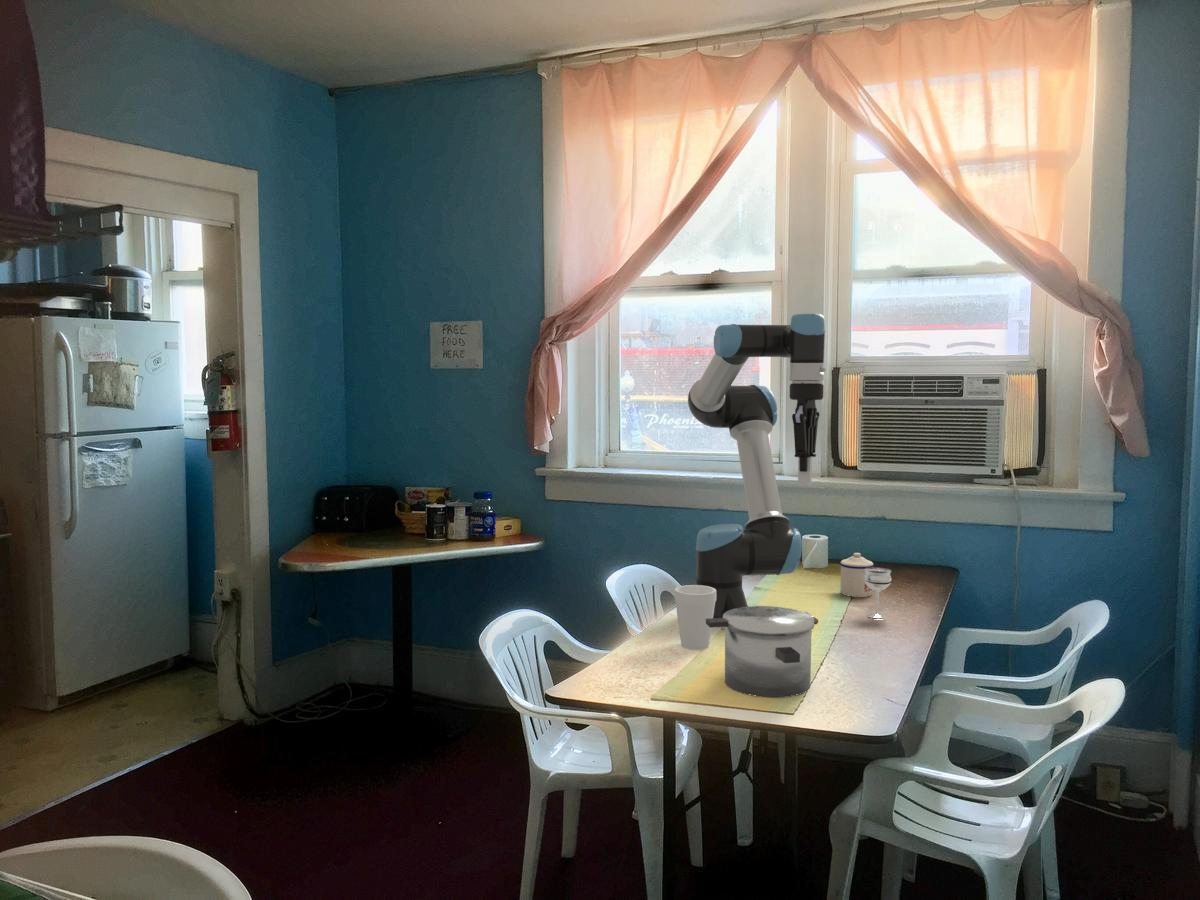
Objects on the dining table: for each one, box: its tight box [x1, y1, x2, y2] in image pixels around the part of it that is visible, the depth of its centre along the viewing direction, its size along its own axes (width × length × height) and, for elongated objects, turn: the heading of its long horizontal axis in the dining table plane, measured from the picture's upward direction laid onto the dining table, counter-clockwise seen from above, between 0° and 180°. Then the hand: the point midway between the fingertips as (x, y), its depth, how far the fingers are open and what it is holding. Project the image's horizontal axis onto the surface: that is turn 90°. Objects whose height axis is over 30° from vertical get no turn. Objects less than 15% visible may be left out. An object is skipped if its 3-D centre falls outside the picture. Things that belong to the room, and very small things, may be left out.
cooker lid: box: [706, 605, 819, 636], centre depth 185 cm, size 22×18×1 cm
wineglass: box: [864, 567, 892, 618], centre depth 236 cm, size 7×7×12 cm
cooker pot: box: [724, 627, 812, 698], centre depth 186 cm, size 17×26×12 cm, turn 10°
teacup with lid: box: [839, 552, 875, 598], centre depth 262 cm, size 12×9×12 cm
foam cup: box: [674, 584, 716, 651], centre depth 211 cm, size 10×9×13 cm
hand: (804, 485), depth 213 cm, fingers closed
